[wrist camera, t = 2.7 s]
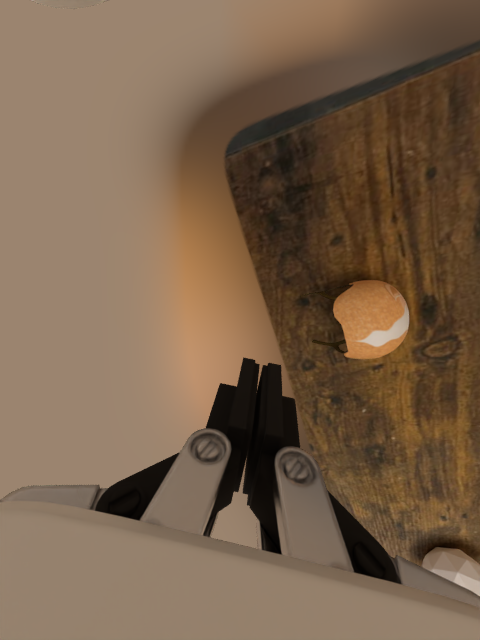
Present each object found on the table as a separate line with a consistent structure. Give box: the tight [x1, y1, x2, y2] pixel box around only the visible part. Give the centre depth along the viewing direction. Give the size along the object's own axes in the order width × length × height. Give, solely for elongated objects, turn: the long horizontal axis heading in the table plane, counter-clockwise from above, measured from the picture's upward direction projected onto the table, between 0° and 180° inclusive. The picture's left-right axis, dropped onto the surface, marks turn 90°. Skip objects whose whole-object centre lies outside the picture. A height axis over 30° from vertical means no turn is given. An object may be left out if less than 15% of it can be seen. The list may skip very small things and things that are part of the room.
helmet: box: [300, 280, 409, 359], centre depth 21 cm, size 6×7×8 cm
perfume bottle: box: [422, 547, 480, 596], centre depth 31 cm, size 8×8×12 cm
